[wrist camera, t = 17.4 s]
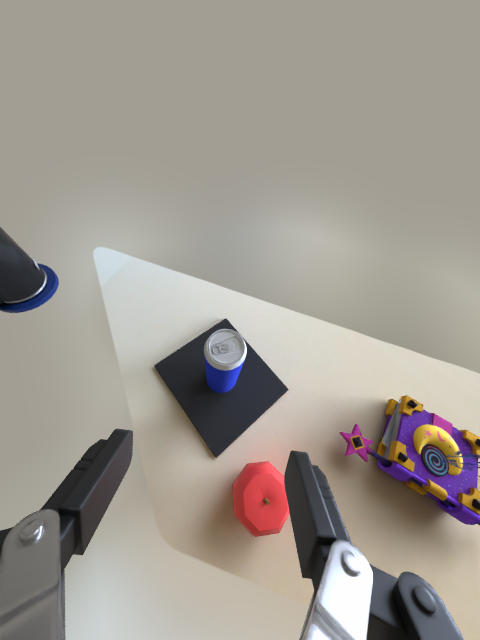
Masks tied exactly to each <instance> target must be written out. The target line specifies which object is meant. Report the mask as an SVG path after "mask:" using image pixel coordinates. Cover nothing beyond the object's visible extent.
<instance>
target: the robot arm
mask: <svg viewBox="0 0 480 640" xmlns="http://www.w3.org/2000/svg"><path fill="white" fill-rule="evenodd" d="M48 282H49V278H48V275H47V273H46V272H45V271H44V270H43V269H42V268H40V267H39V266H38V265H37V263H36V261H35V260H34V259H33V260H32V259H31V258H30V257H29V256H28V255H27V254H26V253H25V252H24V251H23V250H22V249H21V248H20V247H19V246H18V244H16V242H15V241H14V240H13V239H12V238H10V237H9V235H8V234H7V233H6V232H5V231H4V230H3V229H2V228H1V227H0V306H3V305H6V304H21V303H25V302H28V301H30V300H32V299H34V298H36V297H37V296H39V295H40V294H41V293H42V292H43V291H44V290H45V289H46V287H47V285H48ZM132 446H133V432H132V431H131V430H123V429H115V430H114V431H113V433H112V434H111V435H110V437H109V438H108V440H103V439H101V440H99V441H98V442H97V443H95V444H94V445H92V446H91V447H90V448H89V449H88V450H87V451H86V453H85V454H84V455H83V457H82V458H81V460H80V461H78V463H77V464H76V465H75V467H74V469H73V470H71V472H70V473H69V474H68V475H67V477H66V478H65V479H64V481H63V482H62V483H61V484H60V486H59V487H58V488H57V489H56V491H55V492H54V493H53V494H52V496H51V497H50V498H49V500H48V501H47V502H46V504H45V505H44V506H43V507H42V508H41V509H40V510H39V511H37V512H34V513H32V514H30V515H28V516H27V517H25V518H24V519H22V520H21V521H20V522H19V523H18V524H16V525H15V526H14V527H12V528H9V529H5V530H2V531H0V640H65V581H64V580H65V578H64V577H65V574H64V569H65V567H66V565H67V564H68V562H69V560H70V558H71V556H72V555H73V554H76V555H83V554H84V552H85V550H86V548H87V546H88V544H89V542H90V540H91V538H92V536H93V535H94V532H95V531H96V529H97V527H98V525H99V523H100V521H101V519H102V517H103V515H104V514H105V512H106V510H107V508H108V506H109V504H110V502H111V500H112V498H113V497H114V495H115V493H116V491H117V489H118V487H119V485H120V483H121V481H122V479H123V477H124V476H125V474H126V472H127V470H128V468H129V465H130V462H131V458H132ZM284 485H285V491H286V496H287V501H288V507H289V512H290V517H291V522H292V527H293V532H294V537H295V542H296V547H297V552H298V557H299V562H300V567H301V572H302V577H303V578H310V579H312V582H313V587H314V593H313V595H312V599H311V602H310V605H309V609H308V612H307V615H306V619H305V622H304V625H303V629H302V632H301V636H300V639H299V640H464V638H463V637H462V635H461V633H460V631H459V629H458V628H457V626H456V624H455V622H454V620H453V619H452V617H451V615H450V613H449V611H448V610H447V608H446V606H445V604H444V603H443V601H442V599H441V598H440V596H439V595H438V594H437V593H436V591H435V590H434V589H433V588H432V587H431V586H430V585H429V584H428V583H427V582H426V581H425V580H424V579H422V578H421V577H419V576H418V575H416V574H414V573H411V572H403V573H401V575H400V576H399V578H396V577H394V576H392V575H389V574H387V573H385V572H383V571H381V570H379V569H377V568H376V567H374V566H372V565H371V564H369V563H368V561H367V560H366V558H365V556H364V555H363V554H362V553H361V551H360V550H359V549H358V548H357V547H355V546H354V545H353V544H352V542H351V540H350V537H349V535H348V532H347V530H346V527H345V525H344V522H343V520H342V517H341V515H340V512H339V510H338V507H337V504H336V502H335V500H334V497H333V494H332V492H331V490H330V487H329V484H328V482H327V479H326V476H325V475H324V474H323V472H322V471H321V470H320V469H319V467H318V466H315V465H311V462H310V459H309V456H308V454H307V453H306V452H298V451H291V453H290V456H289V460H288V463H287V467H286V471H285V476H284Z"/></svg>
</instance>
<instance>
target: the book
mask: <svg viewBox="0 0 480 640" xmlns="http://www.w3.org/2000/svg"><path fill="white" fill-rule="evenodd" d="M385 414H386V415H387V416H388V418H387V422H386V427H385V431H384V435H383V439H382V441H381V443H379V445H378V449H377V453H376V452H374V451H372V449H371V448H369V447H367V446H369V445H370V444H371V443H373V441H371V440H368V439H366V438H363V437H362V434H361V432H360V429H359V427H358V424H355V426H354V428H353V430H352V433H351V434H349V433H344V432H340V434H341V435H342V436H343V438H344V439H345V440H346V442H347V443H348V445H347V449H346V453H345V455H346V456H348V455H351V454H353V453H357V454H358V455H359V456H360V457H361V458H362V459H363V460H364V461H365V462H368V458H367V453H368V454H370V455H372V456H374V457H375V458H377V459H378V462H377V464H378V467H379V468H380V469H381V470H383V471H384V472H386V473H387V474H389V475H390V476H392V477H394V478H395V479H397V480H399V481H405V484H406V485H407V486H409V487H410V488H412V489H413V490H415V491H416V492H418V493H419V494H421V495H425V494H426V495H428V496H429V497H431V498H433V499H434V500H436V503H437V505H438V506H439V507H440V508H441V509H442V510H444V511H445V512H447V513H448V514H450V515H451V516H453V517H455V518H456V519H458V520H459V521H461V522H463V523H465V524H469V525H474V524H479V525H480V491H479V490H477V475H478V468H480V467H478V466H480V465H478V463H480V462H478V458H480V437H478V436H476V435H475V434H473V433H471V432H469V431H468V430H460V431H459V430H458V429H456V428H454V427H452V424H451V423H450V422H448V421H446V420H445V419H443V418H441V417H439V416H438V415H436V414H434V413H428V412H427V411H425V410H423V405H422V404H421V403H419V402H417V401H416V400H414V399H412V398H410V397H409V396H407V395H406V396H402V397H400V400H399V402H397V401H395V400H393V399H390V400H388V404H387V409H386V413H385ZM479 477H480V476H479Z"/></svg>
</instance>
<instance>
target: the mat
mask: <svg viewBox="0 0 480 640" xmlns="http://www.w3.org/2000/svg"><path fill="white" fill-rule="evenodd" d="M220 329H230V330H233V331H235V332H237V333H238V331H237V330H236V329H235V328H234V327H233V326H232V325H231V324H230V322H229V321H228V320H227V319H224V320H223V321H221V322H220V323H218V324H217V325H215V326H213V327H212V328H210V329H209V330H207V331H206V332H204V333H203V334H201V335H200V336H198V337H197V338H195V339H194V340H192V341H191V342H189V343H188V344H186V345H185V346H183V347H182V348H180V349H179V350H177V351H176V352H174V353H172V354H171V355H169V356H168V357H166V358H165V359H163V360H162V361H160V362H159V363H157V364H156V365H154V366H155V368H156V369H157V371H158V372H159V374H160V375H161V377H162V378H163V380H164V381H165V383H166V384H167V386H168V387H169V389H170V390H171V391H172V393H173V394H174V396H175V397H176V399H177V400H178V402H179V403H180V405H181V406H182V408H183V409H184V411H185V412H186V414H187V415H188V417H189V418H190V420H191V421H192V423H193V424H194V426H195V427H196V429H197V430H198V432H199V433H200V435H201V436H202V438H203V439H204V441H205V442H206V443H207V445H208V446H209V448H210V449H211V451H212V452H213V454H214V455H215V457H218V456H219V455H220V454H221V453H222V452H223V451H224V450H225V449H226V448H227V447H228V446H229V445H230V444H231V443H232V442H233V441H234V440H236V439H237V438H238V437H239V436H240V435H241V434H242V433H243V432H244V431H245V430H246V429H247V428H248V427H249V426H250V425H251V424H252V423H254V422H255V421H256V420H257V419H258V418H259V417H260V416H261V415H262V414H263V413H264V412H265V411H266V410H267V409H268V408H269V407H270V406H272V405H273V404H274V403H275V402H276V401H277V400H278V399H279V398H280V397H281V396H282V395H283V394H284V393H285V392H286V391H287V390H288V388H287V387H286V386H285V385H284V384H283V383H282V381H281V380H280V379H279V378H278V377H277V376H276V375H275V374H274V372H273V371H272V370H271V369H270V368H269V367H268V366H267V364H266V363H265V362H264V361H263V360H262V359H261V358H260V356H259V355H258V354H257V353H256V352H255V351H254V350H253V349H252V347H251V346H250V345H249V344H248V343H247V342H246V341H245V339H244V338H243V337H242V336H241V335H240V336H241V337H242V338H243V340H244V342H245V344H246V348H247V354H246V357H245V360H244V363H243V365H242V368H241V370H240V373H239V375H238V378H237V380H236V383H235V385H234V387H233V388H232V389H231V390H230V391H228V392H225V393H218V392H215V391H213V390H212V389H211V388H210V387H209V386H208V383H207V378H206V367H205V357H204V346H205V343H206V341H207V339H208V338H209V337H210V336H211V335H212V334H213V333H214V332H216V331H217V330H220ZM238 334H239V333H238Z"/></svg>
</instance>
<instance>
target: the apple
mask: <svg viewBox="0 0 480 640" xmlns="http://www.w3.org/2000/svg"><path fill="white" fill-rule="evenodd" d="M232 487H233V506H234V515H235V516H236V518H237V519H238V520H239V521H240V522H241V523H242V524H243V525H244V526H245V527H246V528H247V530H248V531H249V532H250V533H251V534H252V535H253V536H255V537H257V536H263V535H270V534H276V533H279V532H280V530H281V528H282V527H283V525H284V523H285V521H286V519H287V517H288V515H289V514H290V512H289V507H288V501H287V496H286V491H285V485H284V476H283V475H282V474H281V473H280V472H279V471H278V470H277V469H276V468H275V467H274V466H273V465H272V464H271V463H270V462H269V461H267V462H258V463H249V464H246V466H245V467H244V469H243V470H242V472H241V473H240V475H239V476H238V477H237V479H236V480H235V482H234V483H233V485H232Z"/></svg>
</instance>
